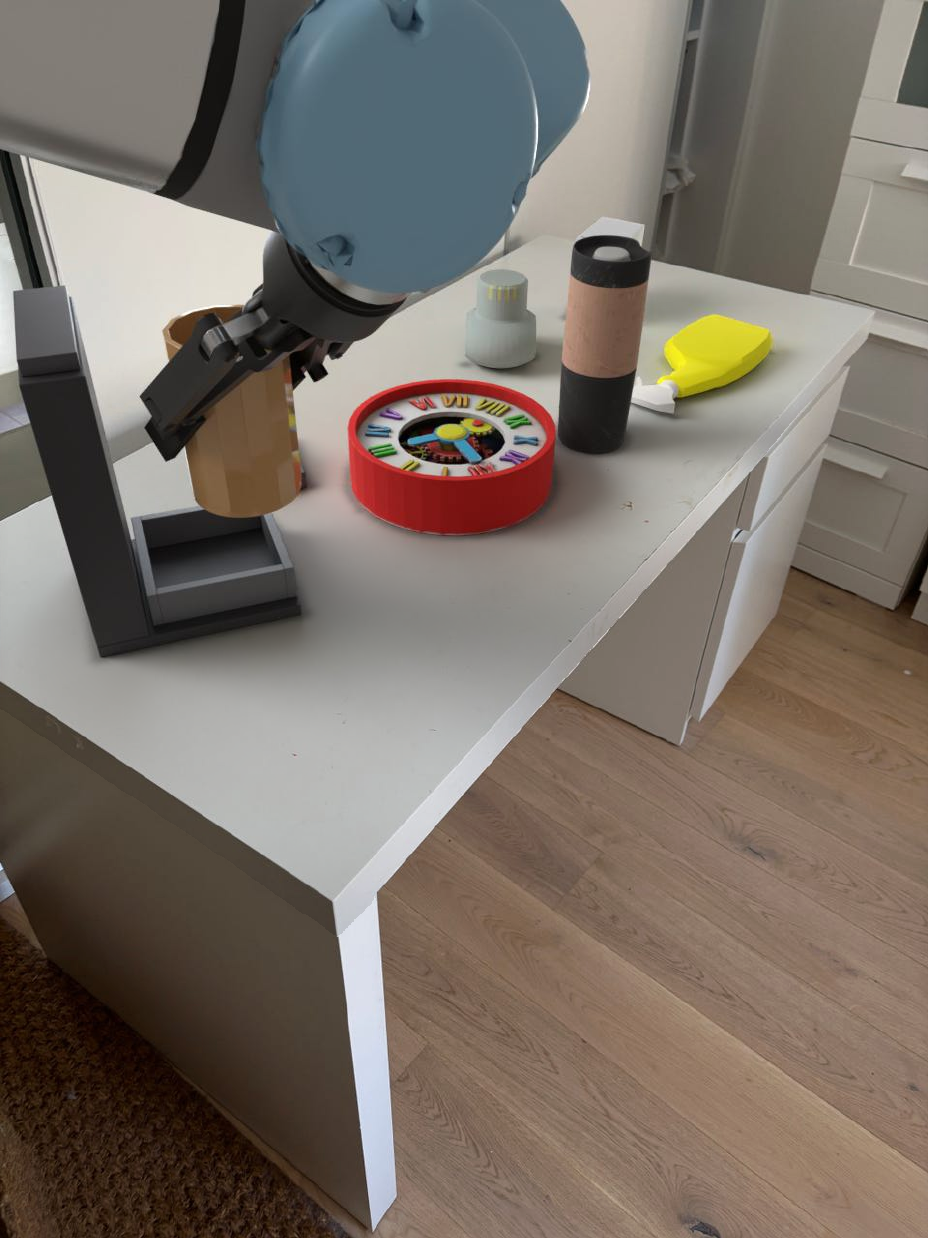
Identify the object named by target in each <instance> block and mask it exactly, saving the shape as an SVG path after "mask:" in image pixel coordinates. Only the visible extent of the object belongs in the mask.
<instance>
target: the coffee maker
mask: <svg viewBox="0 0 928 1238" xmlns="http://www.w3.org/2000/svg"><path fill="white" fill-rule="evenodd" d="M12 297H13V319H14V335H15V336H14V337H15V338H14V339H15V356H16V357H15V358H16V363H17V370H18V371H17V376H18V387H19V390H20V394H21V397H22V401H23V403H24V407H25V410H26V414H27V417H28V420H29V424H30V426H31V431H32V434H33V437H34V441H35V444H36V447H37V451H38V454H39V457H40V460H41V464H42V467H43V470H44V474H45V479H46V481H47V485H48V488H49V491H50V494H51V498H52V502H53V504H54V508H55V511H56V514H57V518H58V521H59V525H60V528H61V531H62V535H63V538H64V541H65V545H66V547H67V548H66V549H67V551H68V555H69V558H70V562H71V565H72V568H73V571H74V575H75V579H76V581H77V585H78V588H79V591H80V595H81V598H82V602H83V606H84V608H85V612H86V615H87V618H88V621H89V626H90V629H91V632H92V635H93V639H94V642H95V646H96V648H97V652H98V655H99V658H103V657H108V656H113V655H117V654H122V653H126V652H131V651H134V650H141V649H146V648H149V647H154V646H160V645H163V644H168V643H173V642H177V641H178V642H179V641H182V640H183V641H184V640H187V639H191V638H196V637H200V636H205V635H210V634H215V633H216V634H217V633H220V632H224V631H228V630H234V629H238V628H243V627H247V626H252V625H257V624H261V623H267V622H272V621H275V620H281V619H285V618H289V617H295V616H299V615H302V614H303V613H302V604H301V602H300V599H299V597H298V590H297V581H296V572H295V567H294V564H293V562H292V558H291V557H290V553H289V551H288V549H287V546H286V544H285V541H284V539H283V536H282V534H281V532H280V529H279V527H278V524H277V521H276V519H275V517H274V514H273V512H272V513H268V514H265V515H260V516H255V517H245V518H235V517H225V516H220V515H216V514H213V513H211V512H209V511H206V510H205V509H203V508H202V507H201V506H200V505H195V506H189V507H184V508H179V509H172V510H167V511H161V512H156V513H149V514H144V515H138V516H132V517H130V521H131V526H132V530H133V531H132V532H133V536H134V538H132V536H131V533H130V532H131V531H130V527H129V524H128V520H127V517H126V513H125V509H124V504H123V500H122V496H121V492H120V487H119V484H118V480H117V475H116V471H115V467H114V464H113V459H112V454H111V451H110V446H109V442H108V439H107V438H108V437H107V434H106V431H105V427H104V422H103V417H102V414H101V411H100V406H99V402H98V398H97V394H96V390H95V385H94V381H93V377H92V373H91V368H90V365H89V361H88V356H87V353H86V349H85V344H84V341H83V337H82V332H81V328H80V323H79V319H78V316H77V311H76V309H75V308H76V307H75V304H74V299H73V297H72V296H69V293H68V288H67V286H66V285H55V286H46V287H37V288H28V289H19V290H13V291H12Z"/></svg>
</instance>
